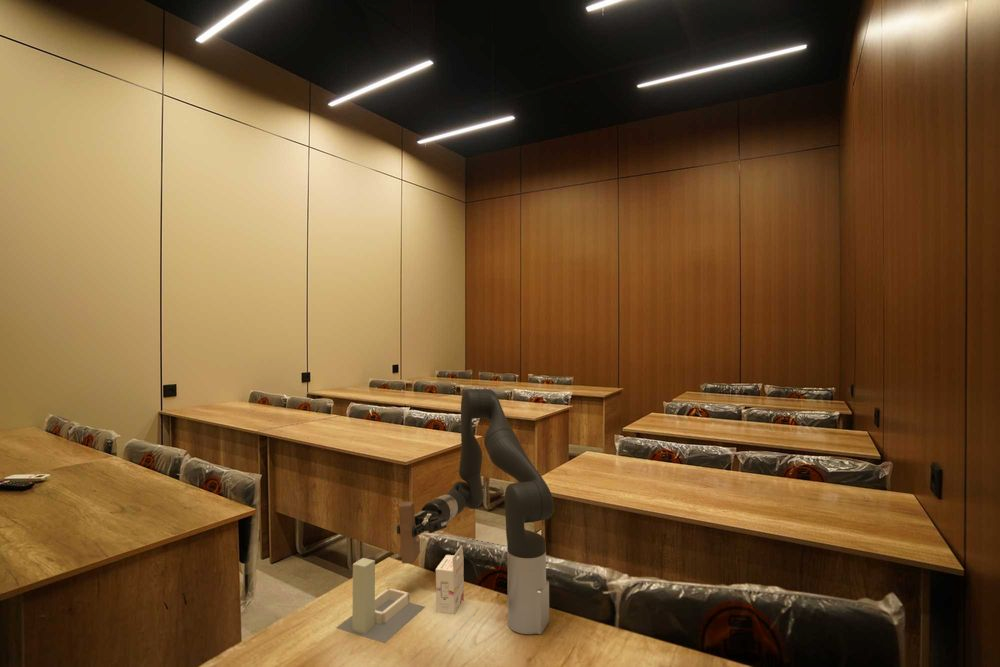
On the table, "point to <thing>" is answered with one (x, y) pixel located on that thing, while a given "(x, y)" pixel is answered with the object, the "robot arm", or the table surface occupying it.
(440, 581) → the ink cartridge box
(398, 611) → the base plate
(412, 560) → the wooden block
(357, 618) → the sage pillar
